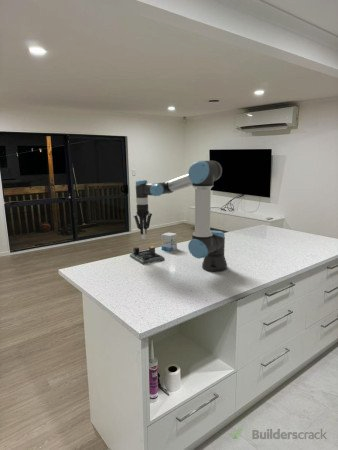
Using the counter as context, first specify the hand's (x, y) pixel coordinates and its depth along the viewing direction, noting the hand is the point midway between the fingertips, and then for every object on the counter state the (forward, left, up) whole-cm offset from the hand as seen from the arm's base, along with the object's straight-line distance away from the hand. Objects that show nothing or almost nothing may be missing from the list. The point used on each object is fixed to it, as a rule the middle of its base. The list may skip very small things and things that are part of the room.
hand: (143, 238), depth 211 cm
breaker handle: (0, -6, -12) cm, 14 cm away
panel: (0, -2, -14) cm, 14 cm away
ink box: (+10, -26, -14) cm, 31 cm away
